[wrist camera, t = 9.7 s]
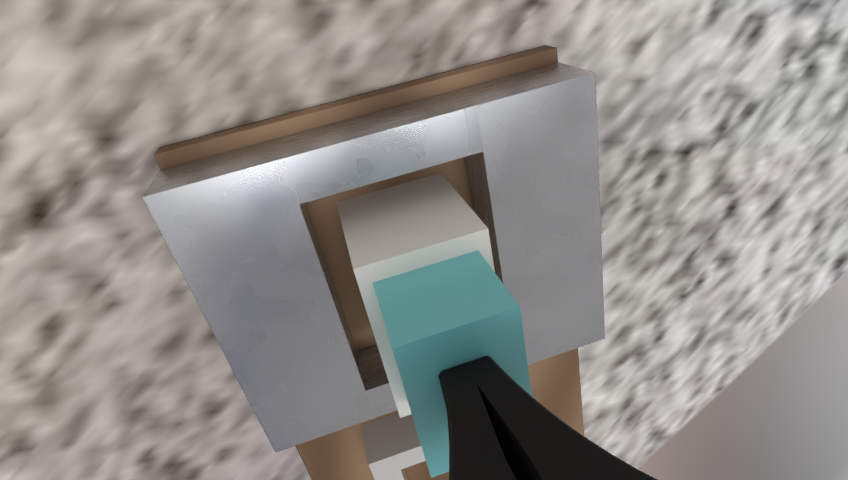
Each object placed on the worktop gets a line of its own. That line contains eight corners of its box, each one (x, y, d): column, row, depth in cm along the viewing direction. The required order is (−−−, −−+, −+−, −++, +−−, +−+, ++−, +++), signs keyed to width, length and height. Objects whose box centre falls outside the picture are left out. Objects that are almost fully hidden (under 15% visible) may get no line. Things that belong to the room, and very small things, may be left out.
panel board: (351, 550, 28) (353, 564, 28) (158, 147, 17) (153, 154, 16) (579, 465, 30) (586, 476, 30) (546, 45, 19) (556, 47, 18)
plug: (375, 330, 21) (421, 496, 14) (336, 202, 18) (369, 333, 11) (465, 301, 22) (551, 448, 15) (440, 172, 19) (533, 281, 12)
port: (275, 405, 22) (275, 452, 20) (160, 169, 16) (142, 197, 14) (574, 306, 23) (604, 338, 21) (557, 62, 18) (595, 72, 16)
